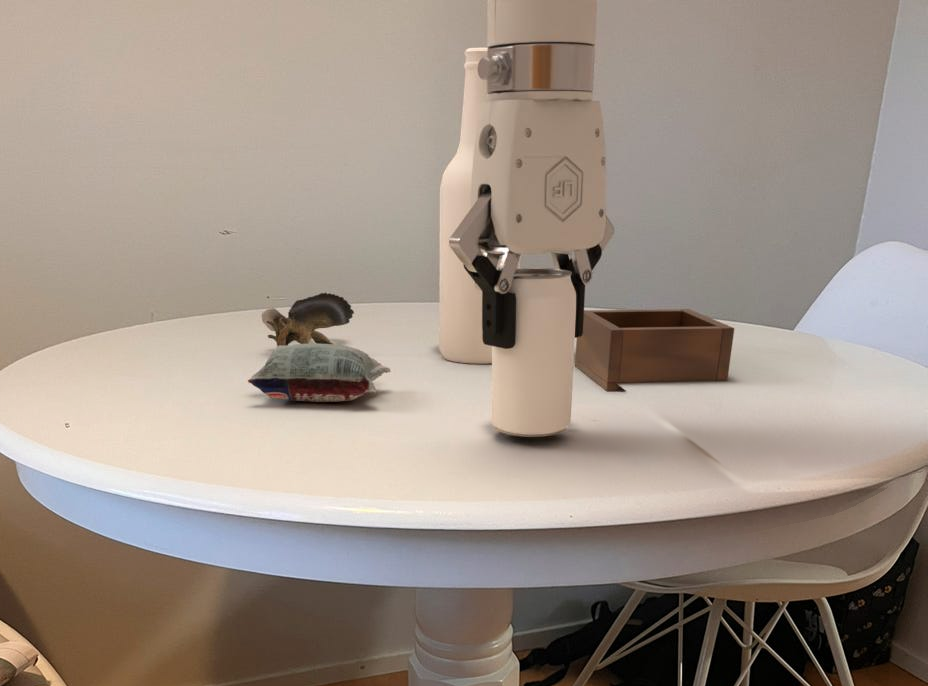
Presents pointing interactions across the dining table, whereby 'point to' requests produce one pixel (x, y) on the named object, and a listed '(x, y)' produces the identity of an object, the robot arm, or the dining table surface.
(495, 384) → the can
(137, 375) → the dining table surface
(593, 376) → the box
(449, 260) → the alcohol
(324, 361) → the packaged food
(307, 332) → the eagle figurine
